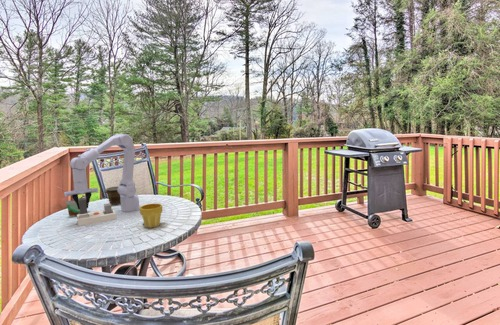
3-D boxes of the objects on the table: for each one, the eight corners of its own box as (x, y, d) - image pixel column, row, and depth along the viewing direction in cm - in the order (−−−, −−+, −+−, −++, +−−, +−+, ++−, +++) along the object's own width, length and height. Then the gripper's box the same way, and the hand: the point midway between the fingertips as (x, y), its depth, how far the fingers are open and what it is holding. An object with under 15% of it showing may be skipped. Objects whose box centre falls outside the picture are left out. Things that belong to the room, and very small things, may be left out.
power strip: (113, 215, 157) (113, 207, 156) (116, 221, 149) (115, 212, 148) (77, 222, 148) (76, 213, 148) (78, 228, 140) (77, 218, 139)
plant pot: (144, 222, 147) (143, 203, 145) (165, 221, 147) (164, 202, 146) (138, 229, 136) (136, 209, 135) (160, 228, 137) (159, 208, 136)
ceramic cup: (119, 200, 187) (117, 185, 186) (128, 203, 181) (126, 187, 180) (99, 205, 177) (97, 189, 175) (107, 208, 171) (106, 192, 169)
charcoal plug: (111, 215, 154) (110, 203, 153) (112, 218, 150) (111, 205, 149) (105, 217, 152) (103, 204, 151) (106, 219, 149) (104, 206, 148)
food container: (77, 219, 152) (75, 201, 150) (67, 219, 153) (65, 200, 152) (94, 212, 164) (92, 195, 162) (84, 211, 165) (83, 194, 164)
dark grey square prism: (86, 211, 147) (85, 197, 146) (87, 213, 143) (86, 199, 142) (80, 212, 145) (78, 198, 144) (80, 214, 142) (78, 200, 141)
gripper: (62, 185, 135) (66, 212, 137) (97, 181, 143) (100, 207, 145) (63, 182, 141) (66, 209, 143) (96, 178, 149) (98, 204, 151)
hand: (83, 208), depth 144 cm, fingers closed on dark grey square prism, 3 cm apart
